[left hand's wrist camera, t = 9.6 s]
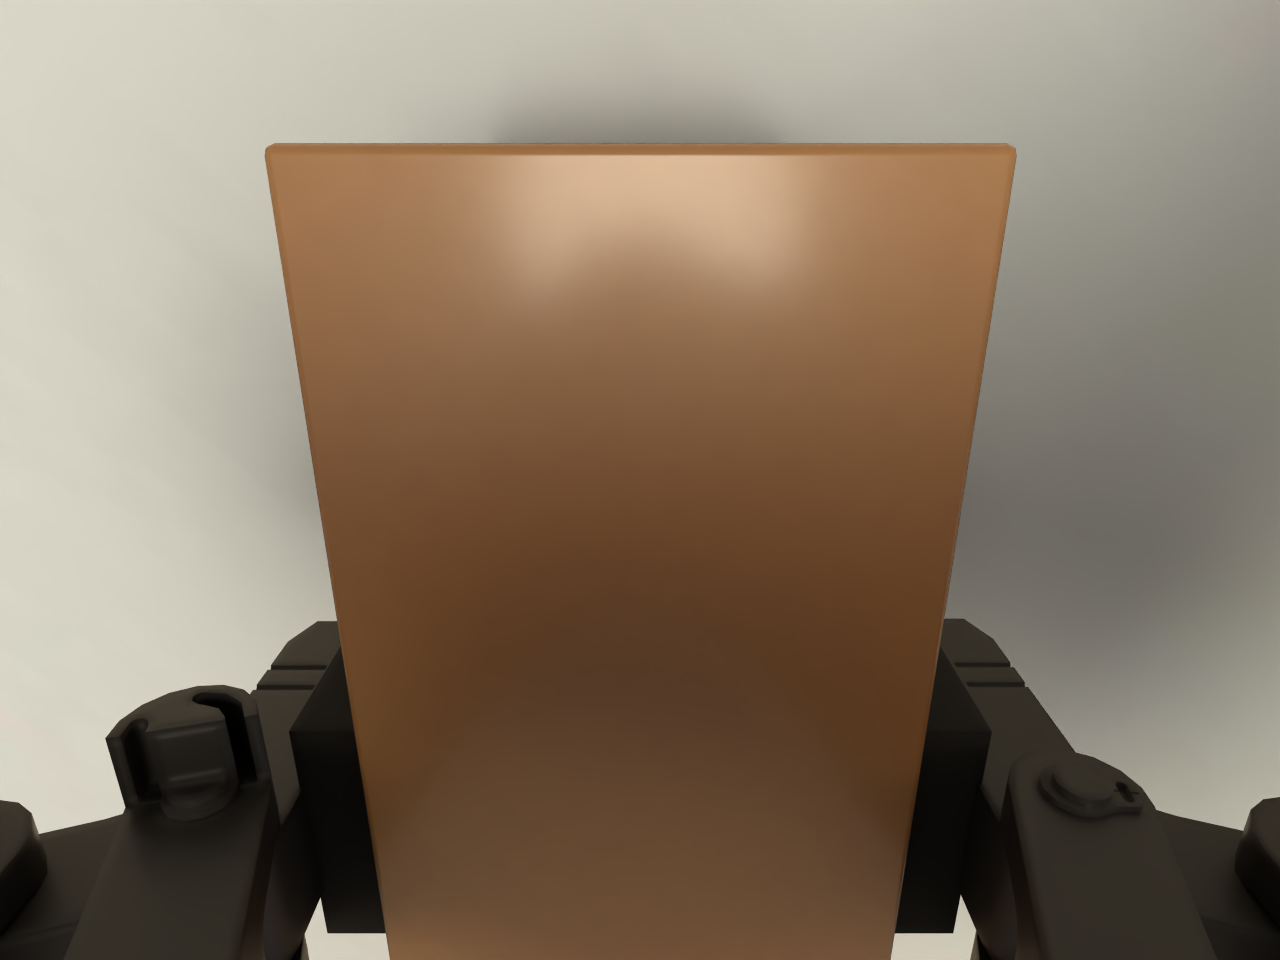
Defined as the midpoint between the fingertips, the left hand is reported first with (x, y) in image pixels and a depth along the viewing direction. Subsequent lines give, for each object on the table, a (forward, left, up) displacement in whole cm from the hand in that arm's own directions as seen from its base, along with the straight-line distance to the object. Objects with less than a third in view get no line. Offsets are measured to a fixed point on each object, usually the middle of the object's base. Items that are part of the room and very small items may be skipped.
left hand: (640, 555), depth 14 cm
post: (-3, +26, -1) cm, 26 cm away
